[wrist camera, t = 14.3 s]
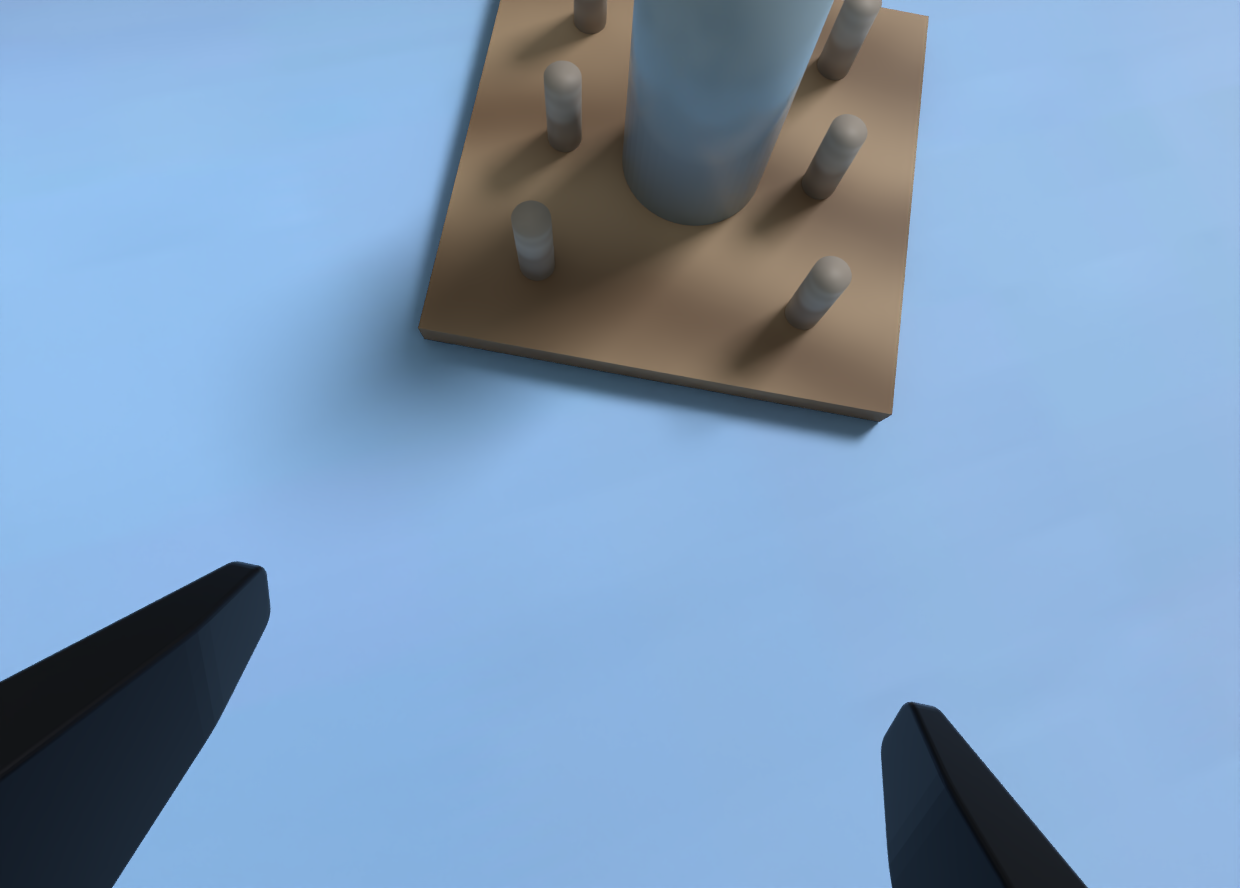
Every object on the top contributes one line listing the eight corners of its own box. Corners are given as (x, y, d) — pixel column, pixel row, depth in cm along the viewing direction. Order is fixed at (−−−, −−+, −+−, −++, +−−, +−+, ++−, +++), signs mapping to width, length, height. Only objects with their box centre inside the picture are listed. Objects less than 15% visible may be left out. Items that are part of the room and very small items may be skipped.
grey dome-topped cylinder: (786, 141, 26) (904, -137, 16) (720, 250, 25) (804, 24, 15) (665, 77, 26) (710, -233, 17) (596, 182, 25) (600, -83, 15)
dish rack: (879, 421, 25) (935, 388, 21) (424, 338, 25) (395, 289, 21) (916, 36, 28) (970, -54, 25) (518, -40, 28) (508, -143, 24)
